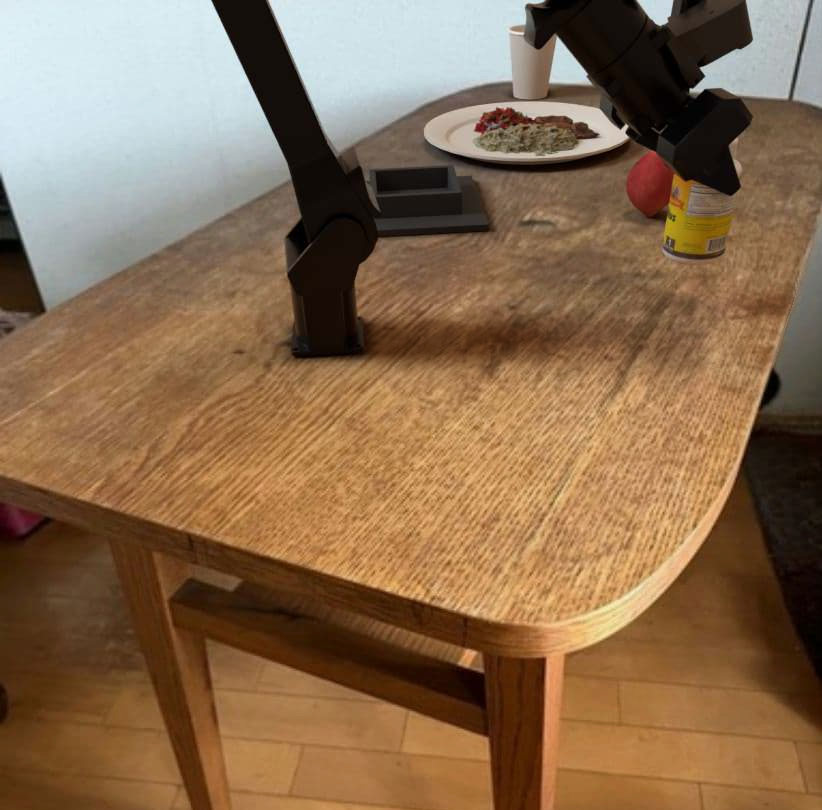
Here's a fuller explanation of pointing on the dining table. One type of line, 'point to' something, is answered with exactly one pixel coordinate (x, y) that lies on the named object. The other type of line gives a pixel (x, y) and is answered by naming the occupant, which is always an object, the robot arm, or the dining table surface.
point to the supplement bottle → (698, 220)
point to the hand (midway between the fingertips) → (721, 180)
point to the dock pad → (426, 201)
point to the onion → (649, 184)
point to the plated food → (525, 132)
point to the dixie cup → (530, 65)
